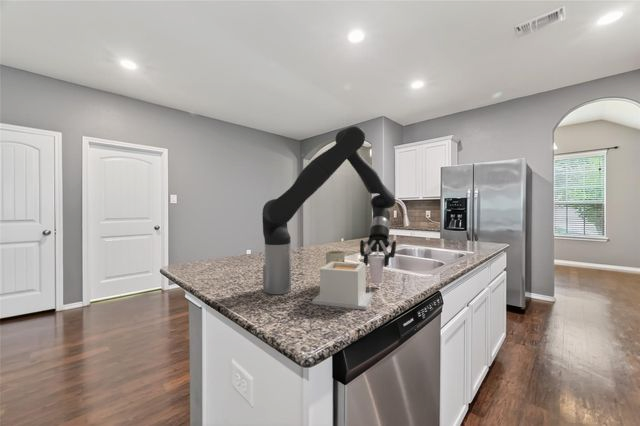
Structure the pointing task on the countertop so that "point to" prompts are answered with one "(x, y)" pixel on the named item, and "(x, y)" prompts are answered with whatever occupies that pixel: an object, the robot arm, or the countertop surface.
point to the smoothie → (376, 267)
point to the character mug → (334, 256)
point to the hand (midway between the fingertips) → (375, 264)
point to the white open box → (343, 286)
